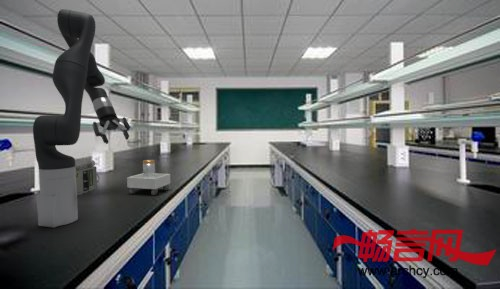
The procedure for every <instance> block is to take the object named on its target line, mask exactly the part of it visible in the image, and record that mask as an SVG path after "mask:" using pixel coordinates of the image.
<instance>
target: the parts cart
mask: <svg viewBox="0 0 500 289" xmlns="http://www.w3.org/2000/svg"><path fill="white" fill-rule="evenodd" d="M126 182H127V183H126V184H127V185H126V186H127V188H129V190H128V191H129V194H132V195H133V194H134V195H135V194H136V192H137V189H143V190H150V191H151V192H150V193H151V195H152V196H156V195H157V194H158V189H160V188H162V190H163V191H168V190H169V188H170V186H169V185H170V184H171V173H156V172H155V178H143V172H142V173H139V174H135V175H130V176H128V177H126Z"/></svg>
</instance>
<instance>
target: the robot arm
mask: <svg viewBox="0 0 500 289" xmlns="http://www.w3.org/2000/svg"><path fill="white" fill-rule="evenodd" d="M56 17H57V26H58V29H59V32H60V34H61V36H62V38H63V39H64V41H65V42H66V43H65V44H67V46H68V49H66V50H65V51H64V52H63V53H61V54H60V55H59V56H58V57H57V58H56V60H55V62H54V67H53V70H52V77H51V78H52V82H53V84H54V86H55V89H56V90H57V91H58V93H59V94H60V96H61V97H62V99H63V101H64V105H65V111H64V114H63V115H40V116H37V117H36V118H35V119H34V122H33V126H32V135H33V142H34V149H35V159H36V162H37V165H38V180H39V183H38V184H39V193H37V194H36V207H37V210H36V211H37V224H38V226H39V227H48V228H56V227H61V226H65V225H69V224H72V223H74V222H77V221H78V219H79V218H78V217H79V214H78V213H79V212H78V196H77V190H76V168H75V164H76V159H75V158H74V157H73V156H71V155H67V154H64V153H62V152H61V151H59V150H58V149H57V147H56V146H73V145H75V144H76V143H78V142H79V141H78V140H79V138H80V134H81V126H82V125H81V122H82V106H83V98H84V91H85V92H86V93H87V95H88V96H89V98H90V101H91V103H92V106H93V111H94V112H95V115H96V117H97V119H98V121H99V122H96V121H93V122H92V128H93V131H94V132H93V133H94V134H95V137H101V139H102V141H103V143H104V144H105V145H107V144H109V139H108V137H107V134H106V131H109V132H110V131H112V130H113V131H115V130H118V131H121V132H122V134H123V136H124V139H125V140H126V141H127V140H128V139H129V138H130V135H129V132H128V131H130V128H131V125H130V124H129V122H128V120H127V118H126V117H122V118H118V115H117V112H116V111H115V108H114V106H113V103H112V101H111V100H110V98H109V96H108V94H107V91H106V90H105V88H103V87H101V86H104V84H105V83H106V78H105V77H104V74H103V72H101V71H100V69H99V68H98V65H97V61H96V58H95V55H94V54H93V53H92V51H91V50H92V46H93V42H94V39H95V34H96V20H95V17H94V16H93V15H92V14H90V13H86V12H83V11H78V10H72V9H66V8H65V9H60V10H59V11H58V12H57V16H56ZM99 126H100V127H101V128H103V129H102V131H100V129H99Z"/></svg>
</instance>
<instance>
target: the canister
mask: <svg viewBox="0 0 500 289" xmlns="http://www.w3.org/2000/svg"><path fill="white" fill-rule="evenodd" d="M155 161H156V160H155V159H144V160H142V173H143V178H155V173H156V167H155V165H156V164H155Z"/></svg>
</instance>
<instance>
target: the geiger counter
mask: <svg viewBox="0 0 500 289" xmlns="http://www.w3.org/2000/svg"><path fill="white" fill-rule="evenodd" d="M75 168H76V190H77V197H79V196H81V195H83V193H84V194H86V193H89V192H92V191H94V190H96V188H97V189H98V183H100V176H99V175H98V173H97V166H96V161H95V160H93V159H91V160H86V161H84V162H80V163H79V162H78V163H75ZM93 189H94V190H93ZM88 191H89V192H88ZM78 195H79V196H78Z"/></svg>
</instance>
